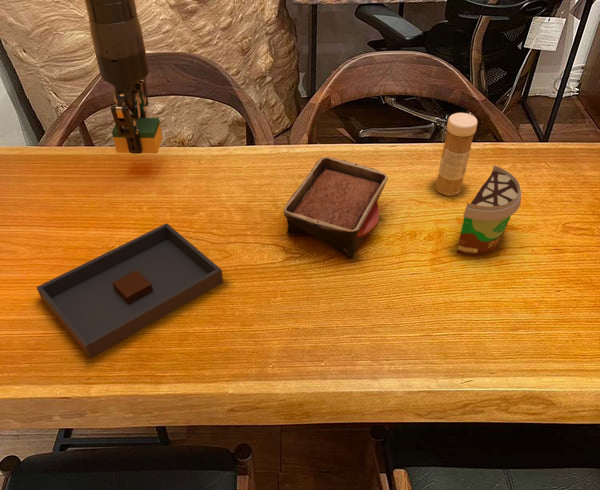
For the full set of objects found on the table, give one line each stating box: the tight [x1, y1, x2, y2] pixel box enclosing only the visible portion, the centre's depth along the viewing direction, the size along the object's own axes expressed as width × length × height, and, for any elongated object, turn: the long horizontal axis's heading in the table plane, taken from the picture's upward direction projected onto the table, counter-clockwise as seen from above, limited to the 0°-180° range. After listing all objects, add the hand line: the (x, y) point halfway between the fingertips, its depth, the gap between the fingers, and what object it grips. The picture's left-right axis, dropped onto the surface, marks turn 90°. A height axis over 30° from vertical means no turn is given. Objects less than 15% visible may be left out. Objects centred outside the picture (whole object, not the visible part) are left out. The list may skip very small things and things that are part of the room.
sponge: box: [111, 117, 164, 155], centre depth 101 cm, size 7×5×4 cm
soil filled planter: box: [283, 156, 389, 259], centre depth 92 cm, size 14×18×10 cm
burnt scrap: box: [112, 270, 153, 305], centre depth 83 cm, size 4×4×2 cm
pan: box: [35, 222, 224, 359], centre depth 83 cm, size 21×14×3 cm
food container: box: [456, 165, 522, 257], centre depth 88 cm, size 12×6×10 cm, turn 148°
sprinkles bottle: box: [435, 112, 478, 197], centre depth 97 cm, size 5×5×14 cm
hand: (139, 143), depth 102 cm, fingers closed on sponge, 5 cm apart
